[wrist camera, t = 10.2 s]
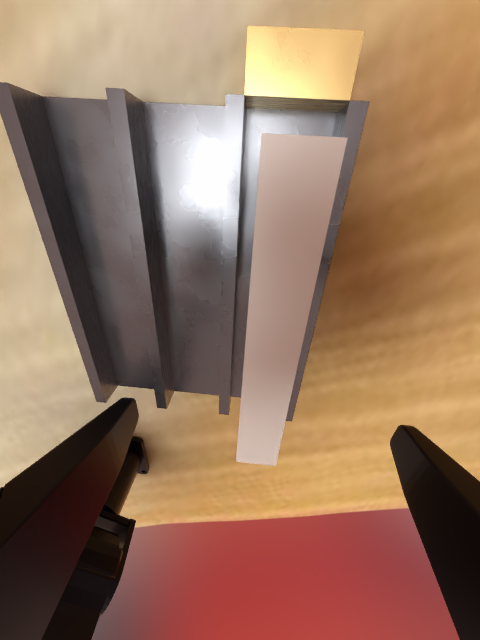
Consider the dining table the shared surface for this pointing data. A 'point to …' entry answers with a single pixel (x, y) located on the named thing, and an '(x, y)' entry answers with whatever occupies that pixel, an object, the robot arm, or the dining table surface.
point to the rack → (176, 209)
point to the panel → (283, 279)
